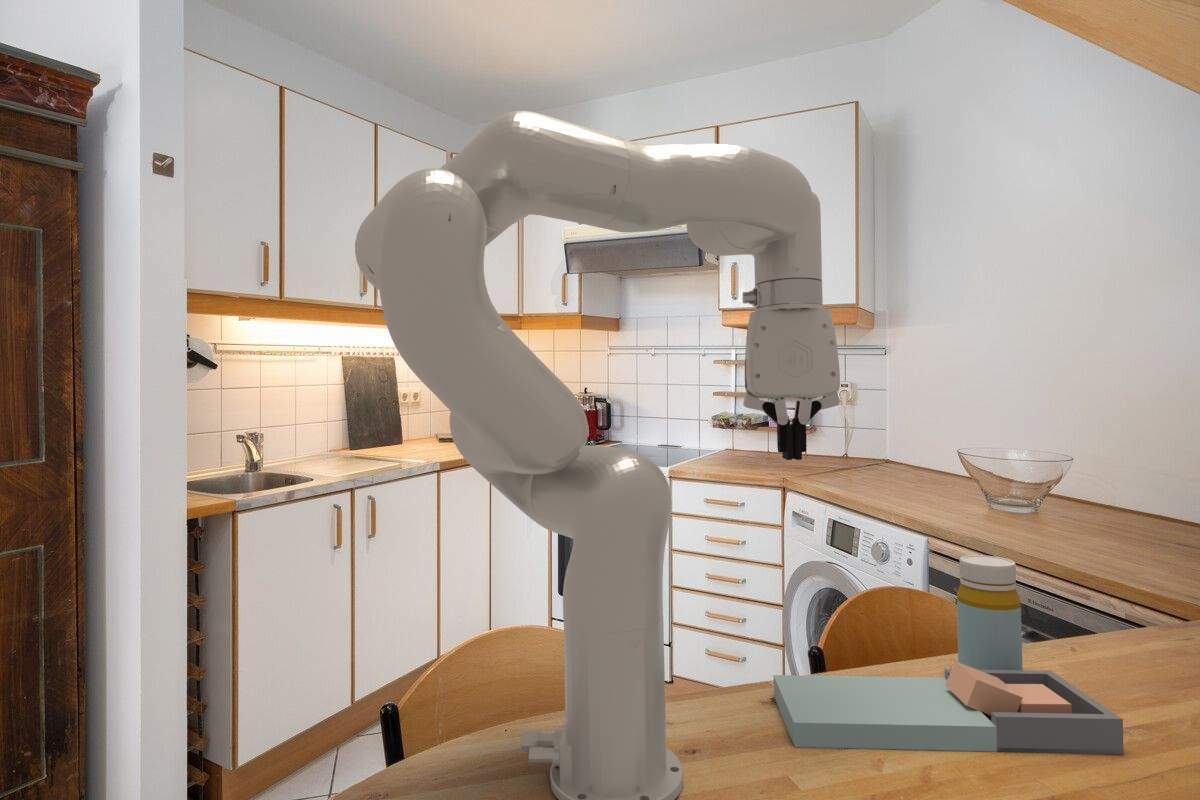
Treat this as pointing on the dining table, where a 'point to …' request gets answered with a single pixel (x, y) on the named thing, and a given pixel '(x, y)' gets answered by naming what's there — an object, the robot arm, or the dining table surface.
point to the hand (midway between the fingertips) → (792, 458)
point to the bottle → (989, 614)
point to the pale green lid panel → (880, 714)
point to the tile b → (1040, 699)
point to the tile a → (982, 690)
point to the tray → (1056, 720)
